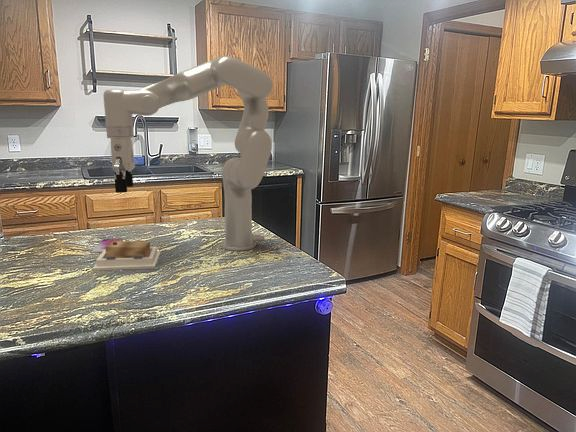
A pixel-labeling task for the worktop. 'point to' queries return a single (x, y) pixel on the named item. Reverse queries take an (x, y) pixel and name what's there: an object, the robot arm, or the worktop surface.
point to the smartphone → (103, 245)
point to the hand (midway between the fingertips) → (124, 189)
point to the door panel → (128, 249)
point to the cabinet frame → (127, 261)
